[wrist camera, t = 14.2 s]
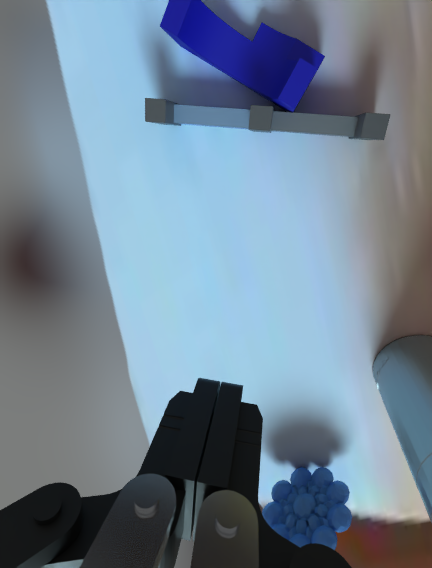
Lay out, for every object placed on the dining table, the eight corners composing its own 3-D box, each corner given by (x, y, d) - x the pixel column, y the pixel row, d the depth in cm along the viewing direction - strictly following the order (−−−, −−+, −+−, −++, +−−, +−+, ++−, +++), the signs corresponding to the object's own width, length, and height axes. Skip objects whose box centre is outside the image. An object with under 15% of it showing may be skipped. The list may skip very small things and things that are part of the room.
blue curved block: (320, 64, 29) (329, 46, 24) (291, 114, 31) (294, 108, 26) (203, -10, 29) (185, -45, 23) (181, 46, 31) (159, 26, 25)
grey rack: (435, -142, 23) (473, -210, 19) (368, 140, 31) (383, 139, 26) (165, -135, 26) (141, -193, 21) (163, 124, 33) (145, 121, 29)
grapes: (272, 492, 51) (270, 585, 41) (259, 460, 49) (253, 550, 38) (350, 486, 48) (370, 586, 37) (340, 452, 46) (358, 548, 35)
